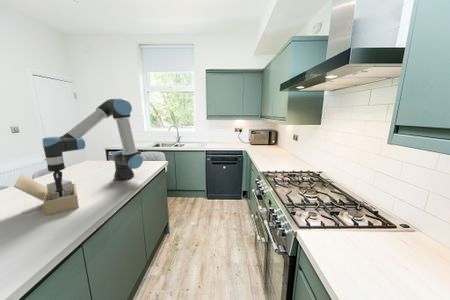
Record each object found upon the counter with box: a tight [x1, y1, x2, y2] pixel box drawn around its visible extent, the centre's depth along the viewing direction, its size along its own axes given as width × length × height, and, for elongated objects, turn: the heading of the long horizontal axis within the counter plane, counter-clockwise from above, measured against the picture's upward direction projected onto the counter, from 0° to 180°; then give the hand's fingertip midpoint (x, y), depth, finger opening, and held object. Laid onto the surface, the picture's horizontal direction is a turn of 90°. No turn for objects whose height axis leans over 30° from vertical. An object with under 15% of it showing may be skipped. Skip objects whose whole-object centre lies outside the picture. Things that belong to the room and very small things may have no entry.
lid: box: [13, 174, 47, 202], centre depth 107 cm, size 14×22×1 cm
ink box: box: [46, 179, 74, 200], centre depth 115 cm, size 8×8×12 cm
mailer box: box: [42, 183, 80, 216], centre depth 116 cm, size 14×23×8 cm, turn 39°
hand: (62, 197), depth 116 cm, fingers closed on ink box, 11 cm apart
